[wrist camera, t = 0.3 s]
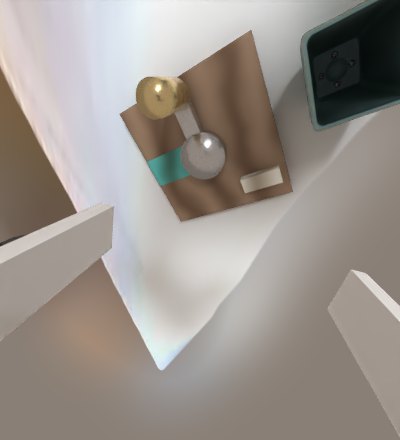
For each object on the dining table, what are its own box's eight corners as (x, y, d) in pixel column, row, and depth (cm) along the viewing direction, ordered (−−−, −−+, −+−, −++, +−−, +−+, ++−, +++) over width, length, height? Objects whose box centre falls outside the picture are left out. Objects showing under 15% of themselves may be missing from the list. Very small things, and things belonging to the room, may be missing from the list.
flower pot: (289, 48, 25) (299, 35, 18) (378, 1, 22) (435, -38, 14) (302, 120, 29) (314, 133, 22) (379, 91, 25) (424, 95, 18)
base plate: (252, 32, 25) (250, 27, 22) (291, 186, 35) (293, 196, 32) (126, 112, 35) (113, 115, 32) (183, 216, 44) (178, 225, 41)
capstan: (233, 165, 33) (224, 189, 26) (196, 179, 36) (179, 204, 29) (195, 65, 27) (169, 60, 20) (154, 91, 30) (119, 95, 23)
